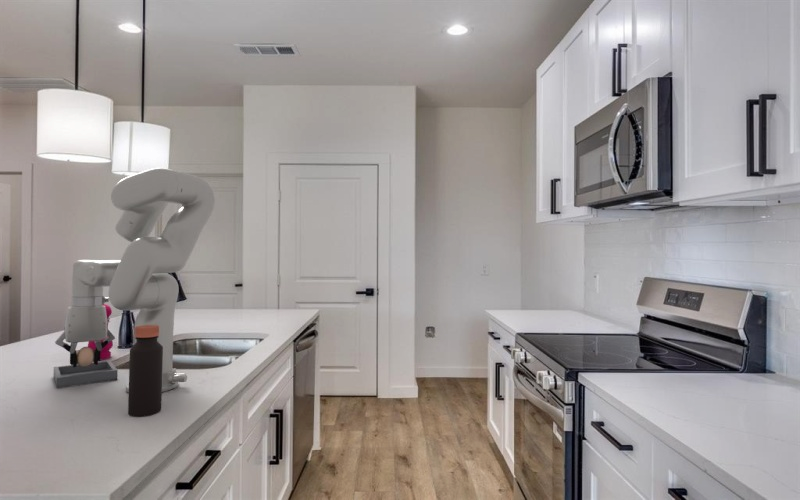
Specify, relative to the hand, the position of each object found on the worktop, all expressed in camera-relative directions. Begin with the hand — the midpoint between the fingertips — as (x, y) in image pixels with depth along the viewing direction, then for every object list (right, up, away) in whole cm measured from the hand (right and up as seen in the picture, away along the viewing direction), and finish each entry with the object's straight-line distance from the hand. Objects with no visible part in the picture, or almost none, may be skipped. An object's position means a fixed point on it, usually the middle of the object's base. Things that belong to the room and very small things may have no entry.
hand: (85, 364), depth 131 cm
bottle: (+32, -5, -26) cm, 41 cm away
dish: (0, -4, 0) cm, 4 cm away
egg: (0, -1, 0) cm, 1 cm away
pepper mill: (-12, -4, +24) cm, 27 cm away
